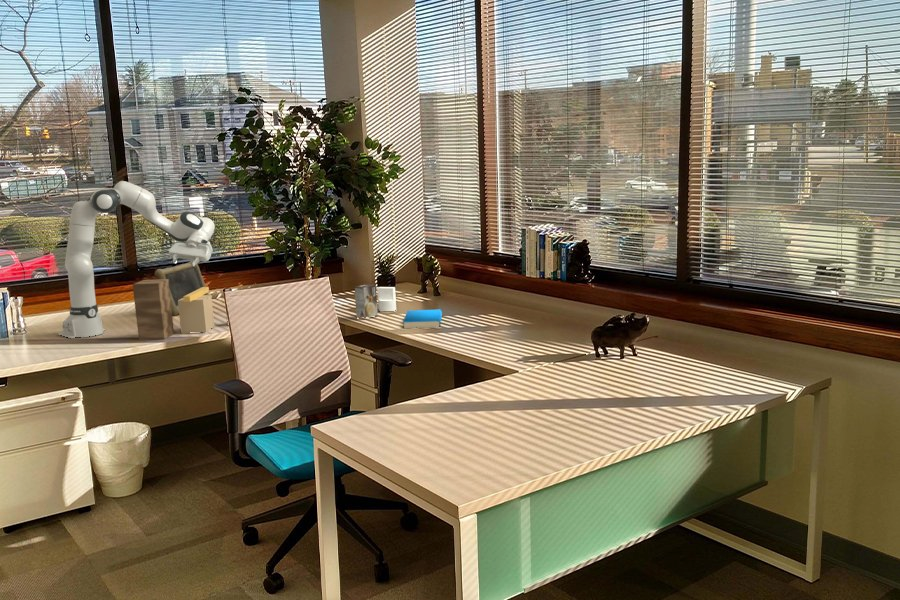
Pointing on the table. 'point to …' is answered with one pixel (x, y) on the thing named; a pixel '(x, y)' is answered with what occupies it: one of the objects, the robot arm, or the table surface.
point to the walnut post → (153, 309)
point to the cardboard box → (196, 314)
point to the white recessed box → (386, 298)
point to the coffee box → (366, 300)
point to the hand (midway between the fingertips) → (183, 263)
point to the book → (422, 319)
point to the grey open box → (181, 282)
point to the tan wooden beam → (196, 294)
